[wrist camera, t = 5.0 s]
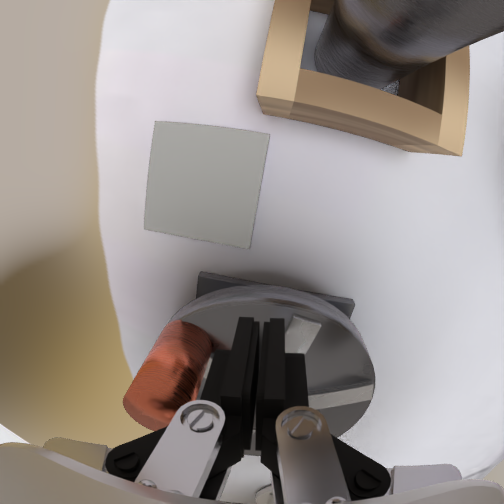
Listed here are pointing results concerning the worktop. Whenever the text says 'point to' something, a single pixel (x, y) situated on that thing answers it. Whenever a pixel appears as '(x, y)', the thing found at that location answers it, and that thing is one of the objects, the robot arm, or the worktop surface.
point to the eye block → (363, 91)
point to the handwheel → (296, 341)
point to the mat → (204, 182)
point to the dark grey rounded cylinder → (400, 35)
